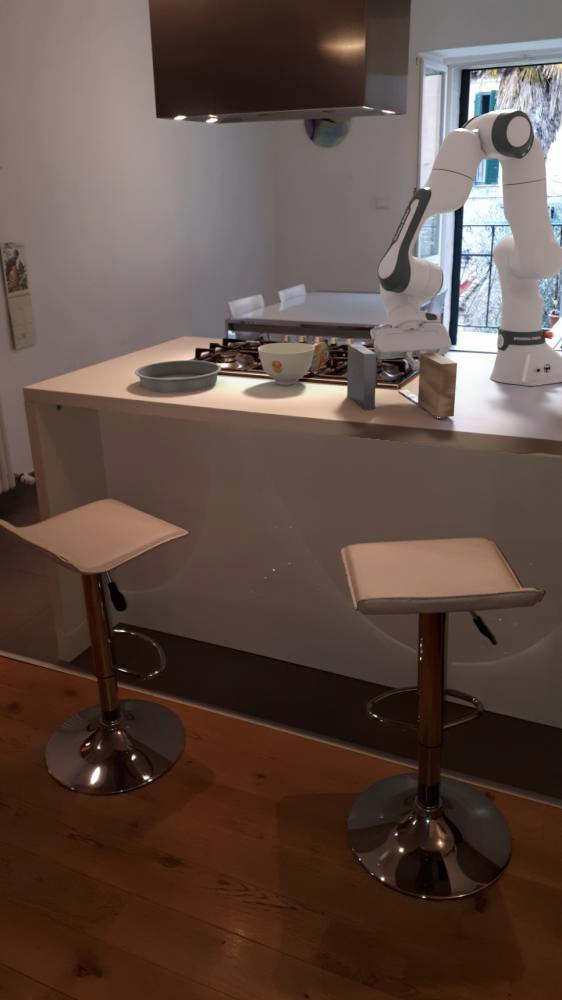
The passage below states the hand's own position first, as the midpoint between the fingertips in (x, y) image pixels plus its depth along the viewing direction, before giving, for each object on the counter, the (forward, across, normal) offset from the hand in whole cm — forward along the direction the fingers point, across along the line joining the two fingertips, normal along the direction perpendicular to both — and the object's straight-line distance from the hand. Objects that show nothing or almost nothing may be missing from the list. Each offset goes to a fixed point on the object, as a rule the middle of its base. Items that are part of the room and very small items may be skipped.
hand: (419, 368), depth 208 cm
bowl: (-15, -28, +26) cm, 41 cm away
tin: (-23, -16, +35) cm, 45 cm away
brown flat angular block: (+15, -1, -4) cm, 16 cm away
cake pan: (-21, -58, +32) cm, 70 cm away
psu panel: (+9, -8, +3) cm, 12 cm away
